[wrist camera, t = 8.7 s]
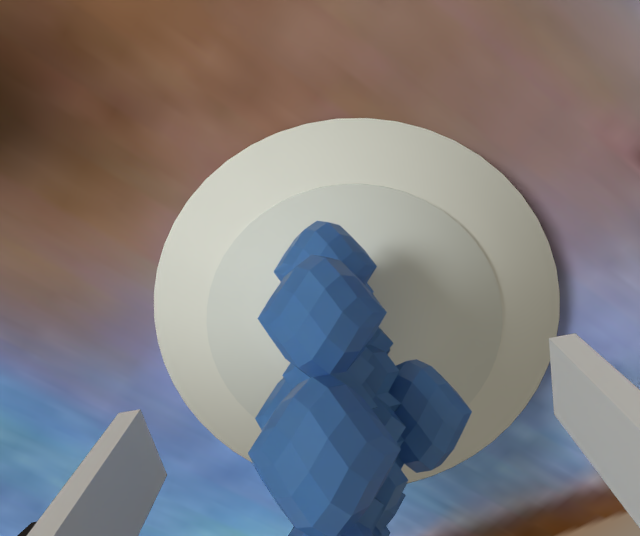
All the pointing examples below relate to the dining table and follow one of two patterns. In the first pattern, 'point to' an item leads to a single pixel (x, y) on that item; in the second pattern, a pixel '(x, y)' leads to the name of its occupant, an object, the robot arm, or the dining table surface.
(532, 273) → the plate
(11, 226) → the dining table surface
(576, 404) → the robot arm
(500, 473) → the dining table surface
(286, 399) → the grapes
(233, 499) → the dining table surface
